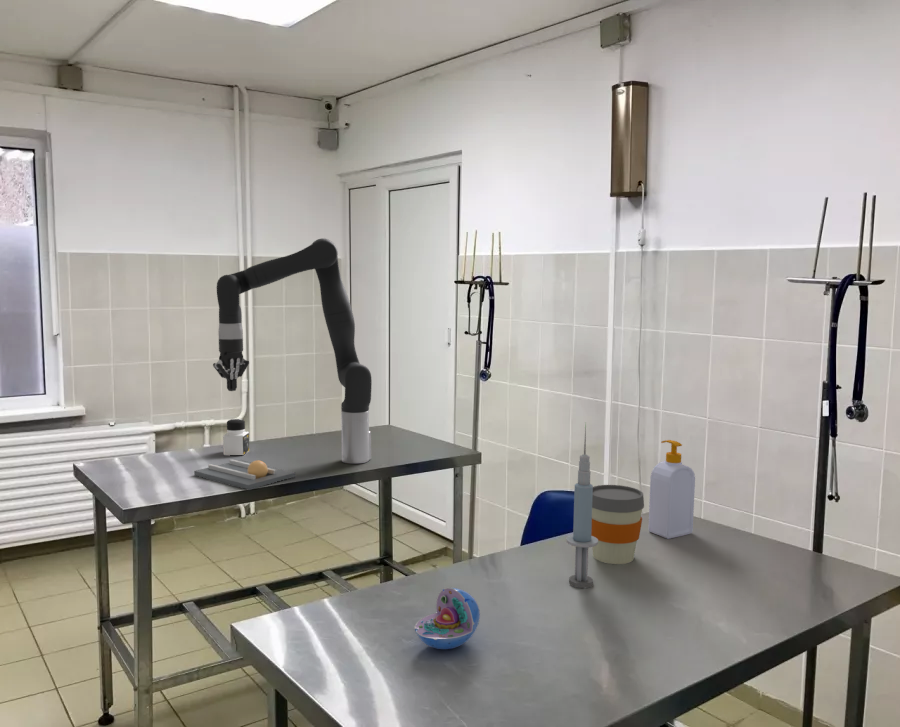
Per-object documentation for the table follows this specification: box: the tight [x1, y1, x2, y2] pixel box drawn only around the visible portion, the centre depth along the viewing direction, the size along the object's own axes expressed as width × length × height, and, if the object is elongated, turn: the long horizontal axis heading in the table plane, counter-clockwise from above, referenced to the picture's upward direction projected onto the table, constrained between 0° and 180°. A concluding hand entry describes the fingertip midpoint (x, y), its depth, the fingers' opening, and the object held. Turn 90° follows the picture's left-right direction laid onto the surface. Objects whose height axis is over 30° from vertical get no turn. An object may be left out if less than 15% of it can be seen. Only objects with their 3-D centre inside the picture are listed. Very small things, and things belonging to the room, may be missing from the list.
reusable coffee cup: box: [591, 484, 645, 565], centre depth 171 cm, size 13×13×15 cm
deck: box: [193, 458, 296, 491], centre depth 237 cm, size 18×26×3 cm
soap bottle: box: [648, 439, 696, 540], centre depth 187 cm, size 9×7×23 cm
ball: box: [248, 459, 268, 479], centre depth 233 cm, size 6×6×6 cm
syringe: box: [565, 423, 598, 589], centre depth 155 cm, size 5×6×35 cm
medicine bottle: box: [222, 418, 250, 456], centre depth 266 cm, size 7×7×12 cm
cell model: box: [413, 587, 481, 650], centre depth 129 cm, size 10×12×10 cm
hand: (232, 390), depth 246 cm, fingers closed
